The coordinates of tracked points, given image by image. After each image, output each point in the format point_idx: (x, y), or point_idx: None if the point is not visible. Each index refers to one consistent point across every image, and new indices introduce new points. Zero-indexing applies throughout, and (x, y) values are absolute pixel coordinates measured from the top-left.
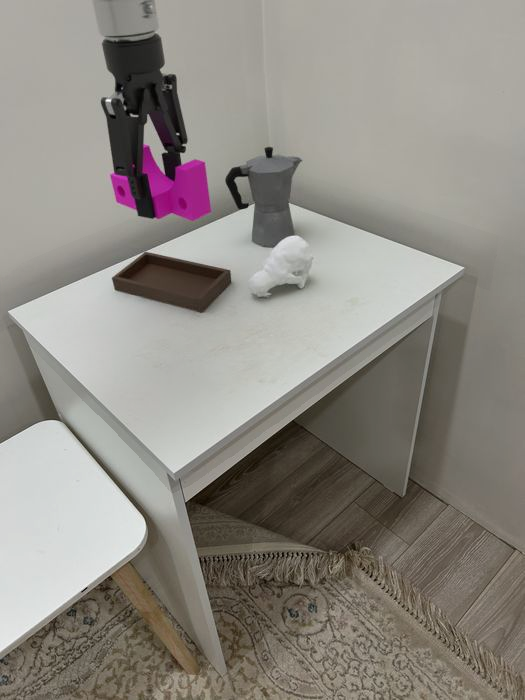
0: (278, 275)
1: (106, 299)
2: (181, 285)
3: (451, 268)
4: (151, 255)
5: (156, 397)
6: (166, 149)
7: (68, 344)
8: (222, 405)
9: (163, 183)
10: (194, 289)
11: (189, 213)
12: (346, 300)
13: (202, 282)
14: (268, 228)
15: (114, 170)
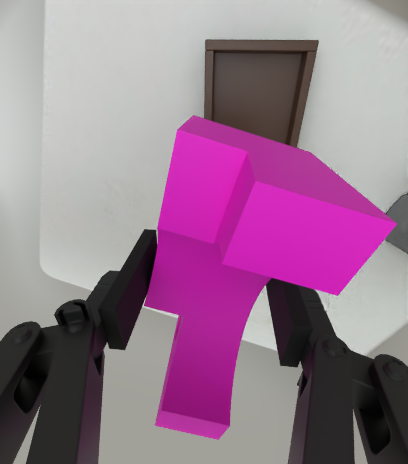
0: (264, 288)
1: (178, 49)
2: None
3: None
4: (304, 67)
5: (76, 231)
6: (313, 347)
7: (67, 78)
8: None
9: (238, 277)
10: None
11: (177, 323)
12: (270, 316)
13: None
14: (404, 237)
15: (4, 339)
